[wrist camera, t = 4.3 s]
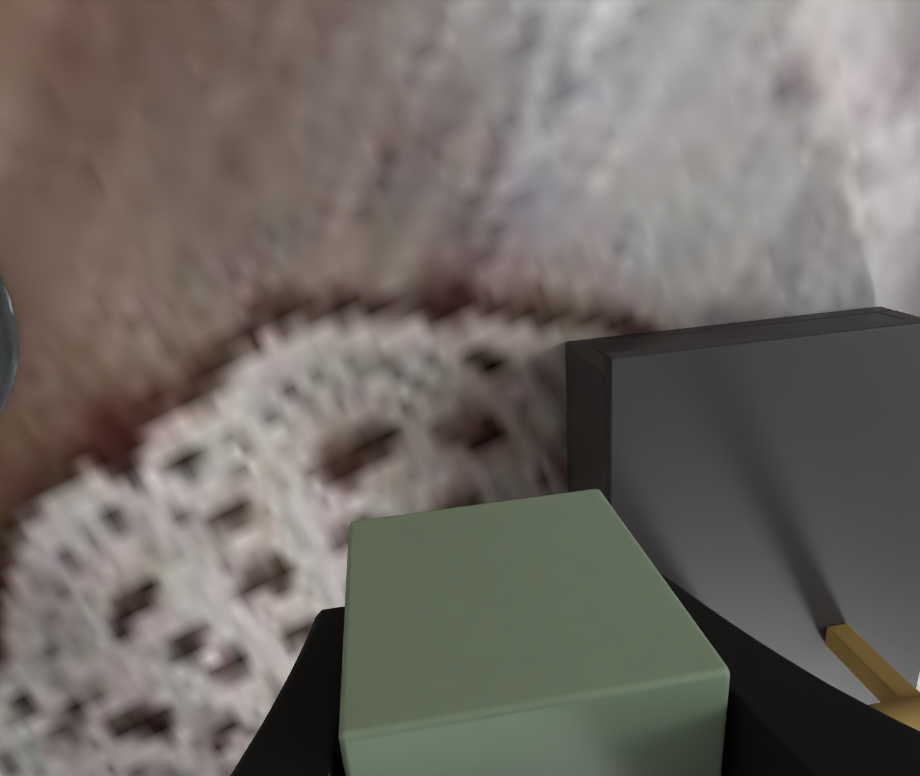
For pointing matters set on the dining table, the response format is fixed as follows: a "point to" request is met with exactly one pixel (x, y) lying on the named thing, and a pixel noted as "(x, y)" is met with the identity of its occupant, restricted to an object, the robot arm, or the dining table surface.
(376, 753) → the block
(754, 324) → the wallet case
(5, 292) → the milk frother
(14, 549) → the dining table surface
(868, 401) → the cover
